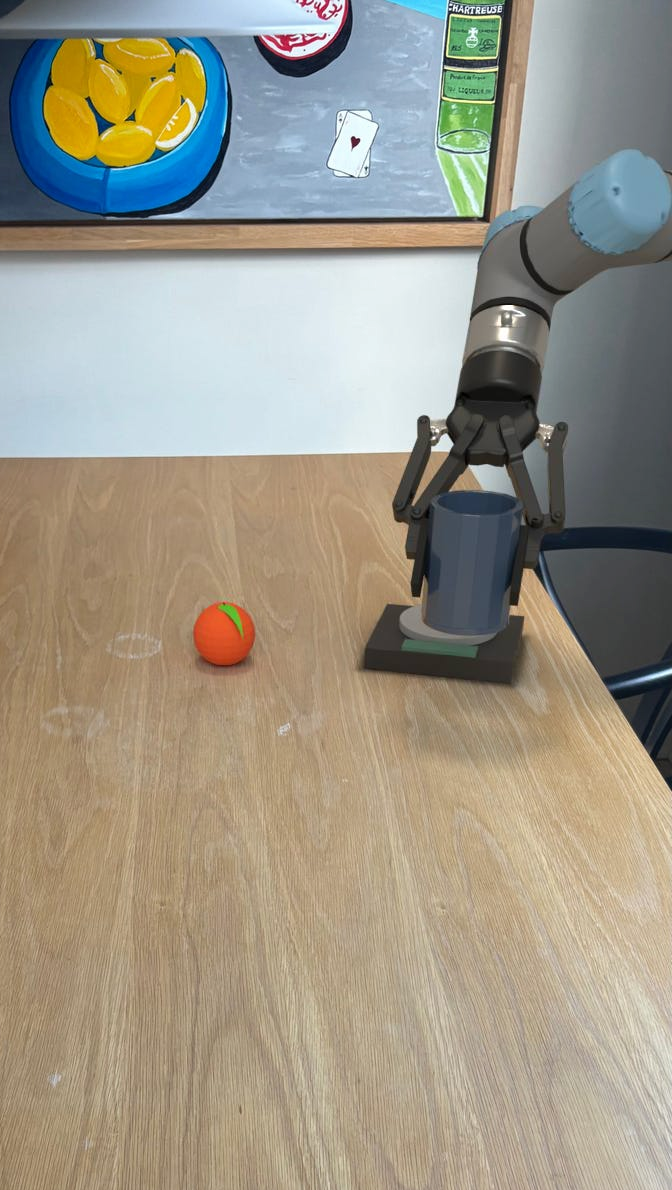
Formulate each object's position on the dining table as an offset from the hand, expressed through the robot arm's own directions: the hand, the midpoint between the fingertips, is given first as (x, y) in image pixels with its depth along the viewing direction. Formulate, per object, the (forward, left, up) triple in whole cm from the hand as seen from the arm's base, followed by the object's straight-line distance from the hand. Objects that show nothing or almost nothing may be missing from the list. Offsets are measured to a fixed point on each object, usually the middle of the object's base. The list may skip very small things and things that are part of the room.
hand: (464, 594), depth 110 cm
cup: (0, -3, -4) cm, 5 cm away
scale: (+4, -25, -16) cm, 30 cm away
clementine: (+27, -15, -16) cm, 35 cm away
